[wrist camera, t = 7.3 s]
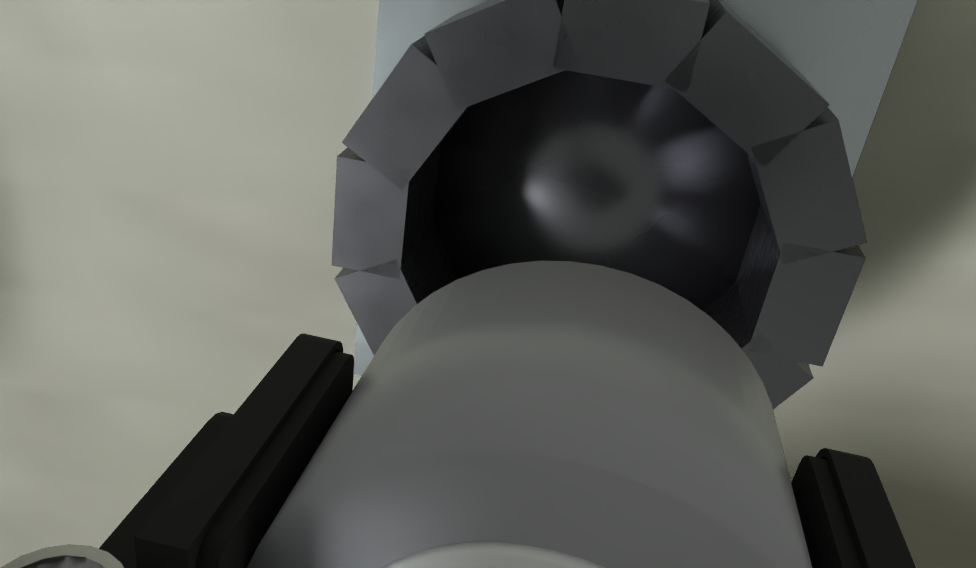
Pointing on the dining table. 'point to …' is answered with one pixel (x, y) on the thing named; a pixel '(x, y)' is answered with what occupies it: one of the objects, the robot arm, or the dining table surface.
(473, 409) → the grey rounded dome
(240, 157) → the dining table surface
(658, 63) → the lens barrel
